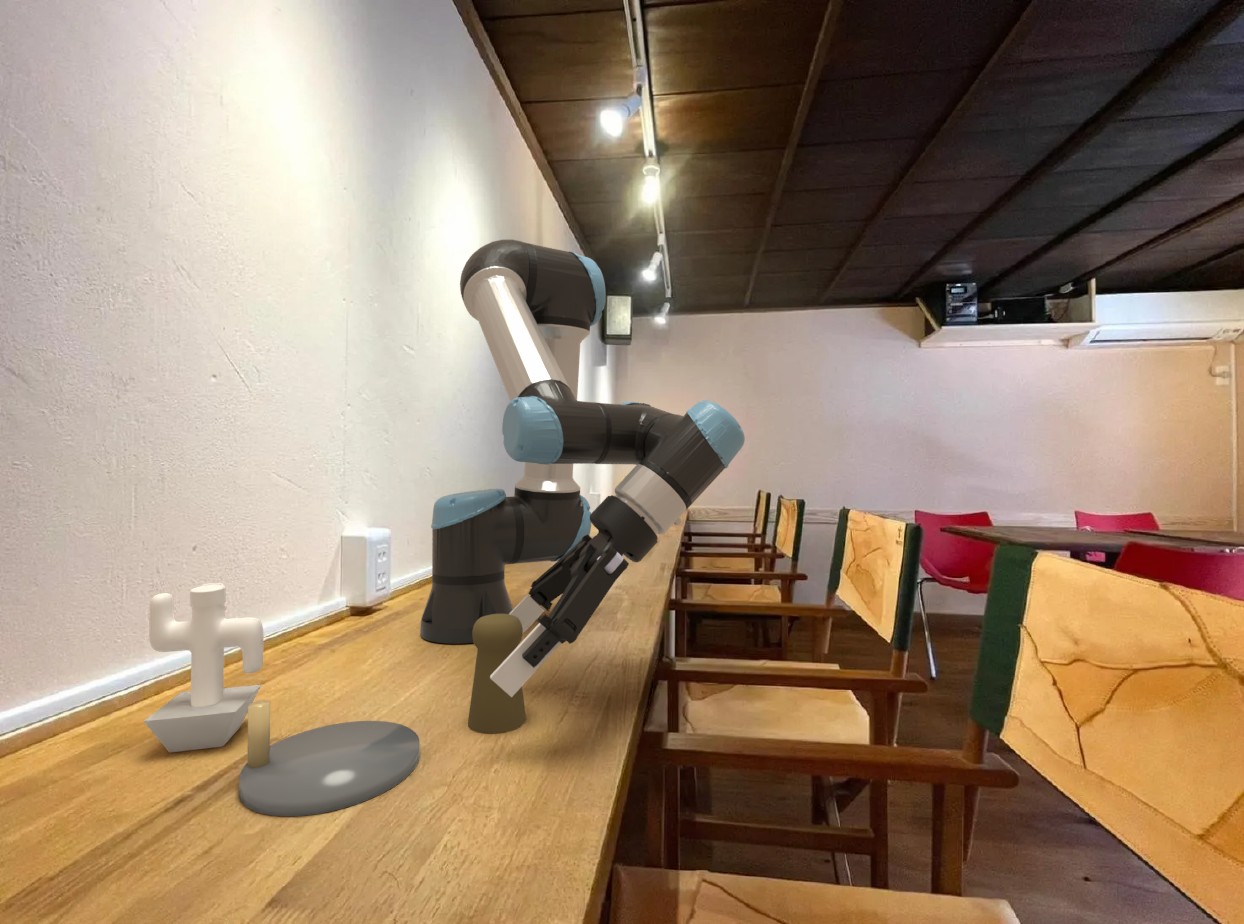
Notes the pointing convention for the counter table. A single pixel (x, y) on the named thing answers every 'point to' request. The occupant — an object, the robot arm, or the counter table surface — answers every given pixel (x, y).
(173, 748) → the figurine
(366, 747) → the coaster plate
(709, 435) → the robot arm
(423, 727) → the counter table surface
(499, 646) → the brown rounded upright piece
